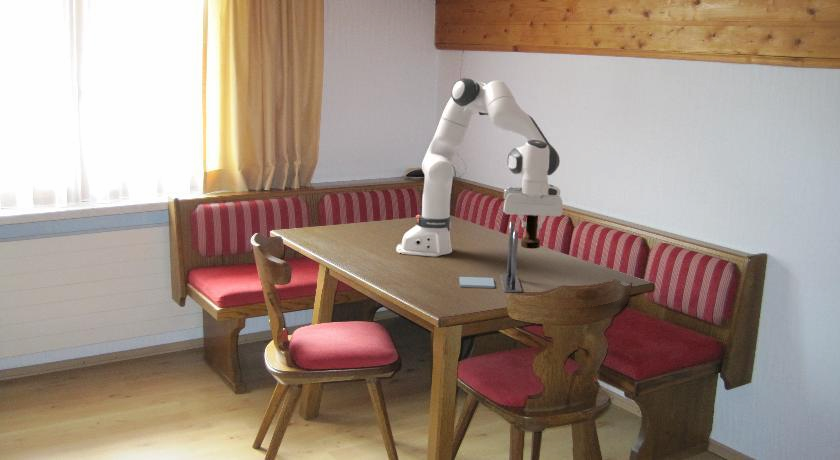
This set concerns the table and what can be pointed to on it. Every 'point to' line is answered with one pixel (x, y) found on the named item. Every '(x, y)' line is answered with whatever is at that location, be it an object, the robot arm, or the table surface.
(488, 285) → the mat
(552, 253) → the table surface
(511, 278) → the retort stand
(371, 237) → the table surface
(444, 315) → the table surface
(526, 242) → the wooden turned spindle
